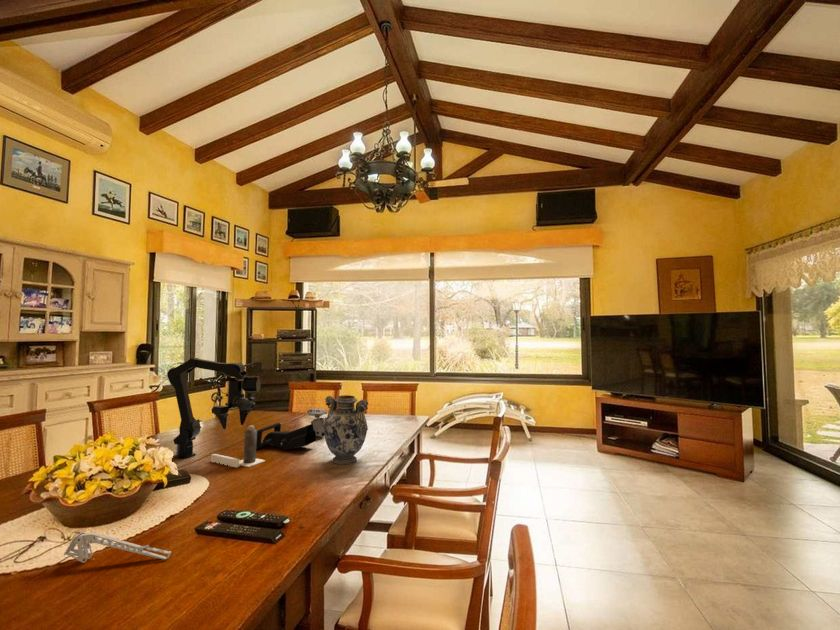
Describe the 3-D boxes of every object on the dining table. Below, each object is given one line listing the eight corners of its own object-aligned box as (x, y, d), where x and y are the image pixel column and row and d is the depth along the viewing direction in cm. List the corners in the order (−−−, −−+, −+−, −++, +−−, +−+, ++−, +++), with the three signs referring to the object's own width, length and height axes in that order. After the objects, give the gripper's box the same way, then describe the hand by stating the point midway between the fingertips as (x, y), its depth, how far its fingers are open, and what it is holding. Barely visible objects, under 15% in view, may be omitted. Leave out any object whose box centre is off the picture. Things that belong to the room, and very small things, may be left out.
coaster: (233, 463, 170) (233, 462, 170) (250, 457, 178) (250, 457, 178) (248, 467, 166) (248, 466, 166) (265, 461, 174) (265, 460, 174)
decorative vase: (376, 457, 183) (377, 395, 184) (356, 470, 166) (357, 401, 167) (334, 451, 190) (335, 392, 191) (311, 464, 173) (313, 398, 174)
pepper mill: (241, 463, 170) (243, 426, 171) (245, 459, 175) (247, 423, 175) (253, 463, 170) (255, 426, 171) (257, 459, 175) (258, 424, 176)
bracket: (72, 549, 99) (94, 511, 100) (153, 586, 100) (174, 548, 101) (62, 556, 96) (85, 517, 97) (146, 594, 97) (167, 556, 98)
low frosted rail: (211, 461, 172) (211, 454, 172) (214, 460, 173) (214, 453, 174) (236, 467, 166) (236, 460, 166) (239, 466, 167) (239, 459, 167)
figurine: (307, 434, 221) (308, 406, 222) (328, 435, 221) (329, 407, 222) (302, 438, 212) (303, 409, 213) (324, 439, 212) (325, 410, 212)
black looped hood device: (306, 446, 183) (295, 414, 185) (257, 465, 189) (247, 434, 191) (324, 437, 200) (314, 408, 202) (279, 454, 206) (269, 426, 208)
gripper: (229, 395, 169) (228, 433, 168) (264, 390, 186) (263, 425, 185) (211, 393, 174) (209, 430, 173) (247, 388, 191) (245, 422, 190)
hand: (233, 426), depth 180 cm, fingers open, 9 cm apart
